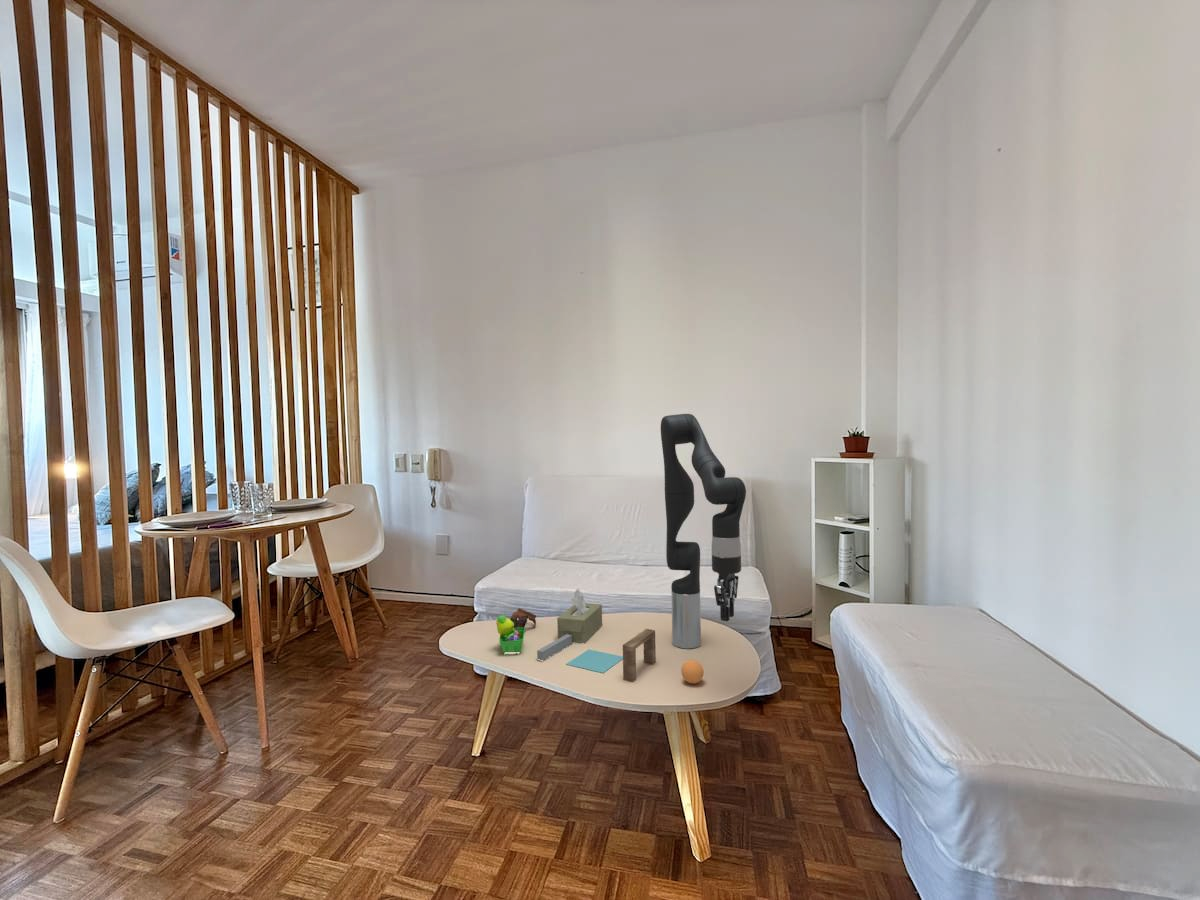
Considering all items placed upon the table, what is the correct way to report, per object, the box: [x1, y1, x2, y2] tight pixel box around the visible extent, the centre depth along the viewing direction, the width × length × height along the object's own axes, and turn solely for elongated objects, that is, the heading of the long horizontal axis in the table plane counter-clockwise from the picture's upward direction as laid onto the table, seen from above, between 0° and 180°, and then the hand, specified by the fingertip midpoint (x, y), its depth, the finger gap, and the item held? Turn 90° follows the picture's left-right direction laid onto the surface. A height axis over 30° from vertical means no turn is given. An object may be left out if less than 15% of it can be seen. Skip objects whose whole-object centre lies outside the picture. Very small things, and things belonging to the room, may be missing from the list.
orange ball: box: [680, 659, 704, 684], centre depth 147 cm, size 6×6×6 cm
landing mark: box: [566, 648, 623, 674], centre depth 163 cm, size 13×13×1 cm
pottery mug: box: [510, 607, 537, 629], centre depth 192 cm, size 12×9×8 cm
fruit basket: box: [495, 614, 526, 653], centre depth 173 cm, size 11×9×11 cm
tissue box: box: [556, 588, 603, 645], centre depth 187 cm, size 19×10×16 cm, turn 161°
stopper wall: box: [536, 634, 573, 660], centre depth 170 cm, size 16×2×3 cm, turn 149°
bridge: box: [622, 628, 657, 683], centre depth 155 cm, size 3×15×10 cm, turn 149°
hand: (727, 618), depth 141 cm, fingers open, 3 cm apart
